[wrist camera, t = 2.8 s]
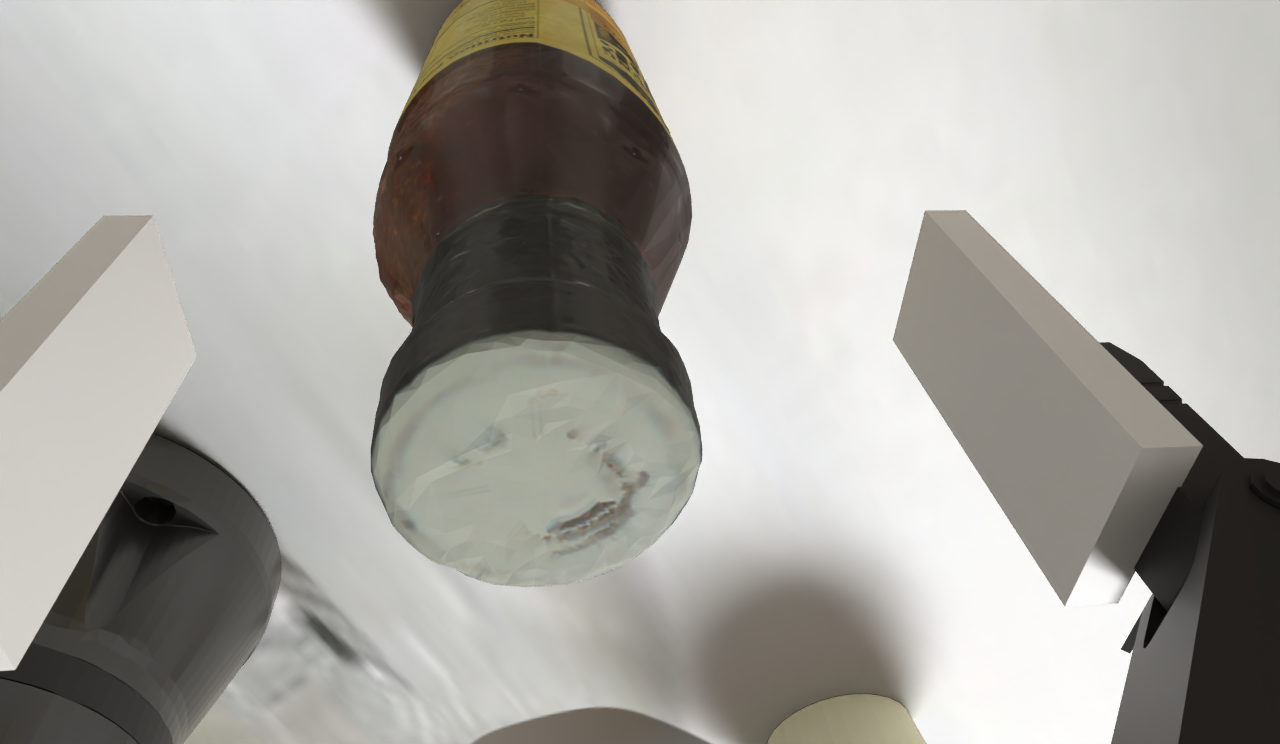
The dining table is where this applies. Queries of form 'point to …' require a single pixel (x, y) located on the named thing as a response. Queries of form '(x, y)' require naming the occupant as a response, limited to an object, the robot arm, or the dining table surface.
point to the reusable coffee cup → (849, 723)
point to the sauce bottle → (533, 301)
